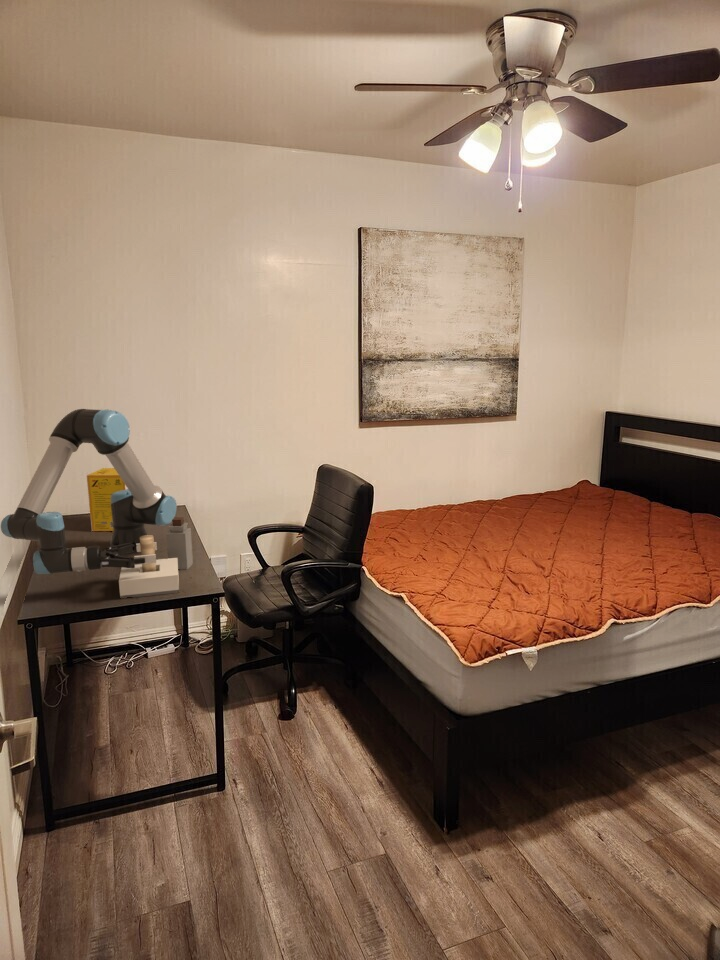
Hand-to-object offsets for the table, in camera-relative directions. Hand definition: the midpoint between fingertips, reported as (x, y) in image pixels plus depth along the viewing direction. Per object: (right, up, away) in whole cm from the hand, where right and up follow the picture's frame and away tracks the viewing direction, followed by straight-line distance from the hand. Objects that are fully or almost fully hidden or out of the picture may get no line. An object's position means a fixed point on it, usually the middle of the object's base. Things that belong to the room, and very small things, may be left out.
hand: (156, 552), depth 211 cm
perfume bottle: (+2, -8, +20) cm, 22 cm away
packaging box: (-40, +3, +72) cm, 82 cm away
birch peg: (-2, -10, +1) cm, 11 cm away
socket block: (-2, -11, +2) cm, 12 cm away
